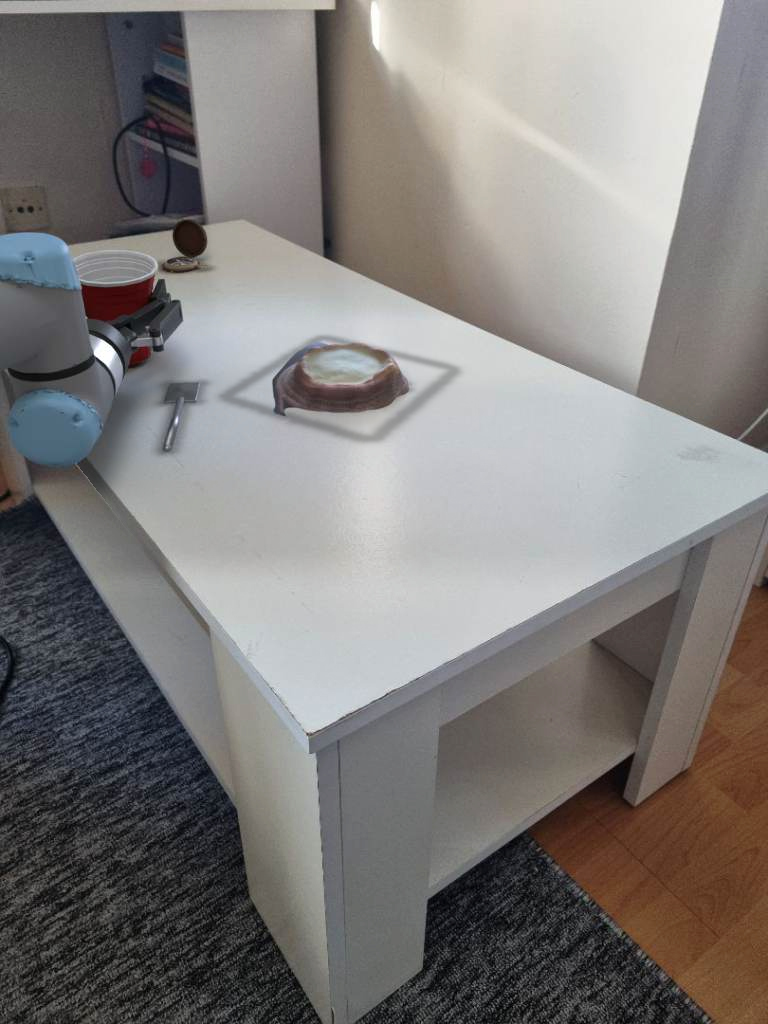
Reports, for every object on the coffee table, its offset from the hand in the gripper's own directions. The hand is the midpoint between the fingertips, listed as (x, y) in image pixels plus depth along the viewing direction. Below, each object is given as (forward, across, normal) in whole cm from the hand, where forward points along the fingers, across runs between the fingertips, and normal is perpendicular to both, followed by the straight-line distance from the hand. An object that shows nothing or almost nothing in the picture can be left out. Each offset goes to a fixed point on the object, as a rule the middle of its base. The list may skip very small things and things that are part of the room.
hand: (126, 290), depth 102 cm
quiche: (-13, +27, -8) cm, 31 cm away
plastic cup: (-5, 0, -7) cm, 9 cm away
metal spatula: (-20, +8, -8) cm, 23 cm away
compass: (+33, +3, -8) cm, 34 cm away
